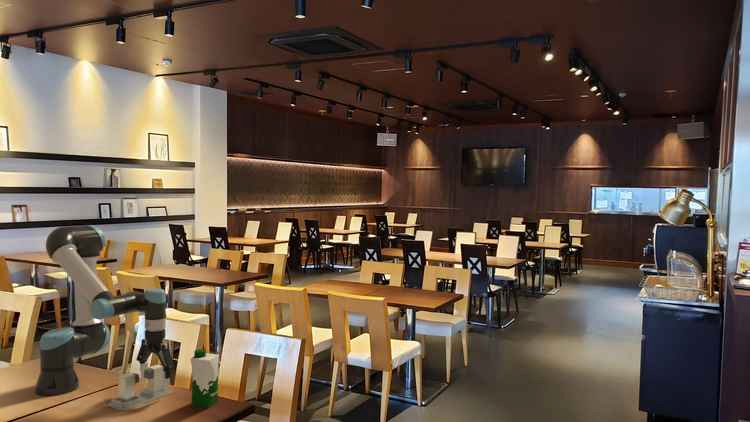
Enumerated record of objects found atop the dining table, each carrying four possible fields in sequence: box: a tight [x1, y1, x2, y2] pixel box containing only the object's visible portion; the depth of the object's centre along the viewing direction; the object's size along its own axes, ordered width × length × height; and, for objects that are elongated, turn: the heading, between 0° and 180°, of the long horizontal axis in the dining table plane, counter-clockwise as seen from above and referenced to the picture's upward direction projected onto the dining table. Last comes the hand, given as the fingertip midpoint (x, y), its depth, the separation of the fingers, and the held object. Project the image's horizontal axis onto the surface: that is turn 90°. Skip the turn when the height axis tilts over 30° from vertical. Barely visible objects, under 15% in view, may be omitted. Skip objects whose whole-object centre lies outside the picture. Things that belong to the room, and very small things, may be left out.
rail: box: [107, 372, 173, 412], centre depth 212 cm, size 8×22×11 cm, turn 147°
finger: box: [144, 364, 164, 393], centre depth 216 cm, size 6×4×10 cm, turn 147°
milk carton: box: [190, 348, 220, 409], centre depth 208 cm, size 9×9×20 cm
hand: (154, 382), depth 217 cm, fingers open, 13 cm apart
